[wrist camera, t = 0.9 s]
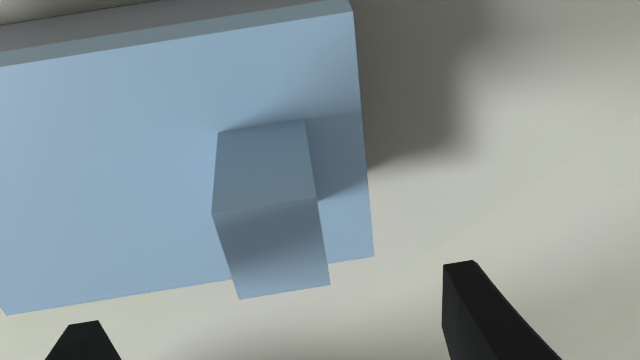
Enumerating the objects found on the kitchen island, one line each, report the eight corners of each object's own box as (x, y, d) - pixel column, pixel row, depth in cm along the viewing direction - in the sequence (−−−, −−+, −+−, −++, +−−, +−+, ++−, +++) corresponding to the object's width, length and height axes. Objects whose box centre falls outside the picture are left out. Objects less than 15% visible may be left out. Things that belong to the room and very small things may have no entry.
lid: (369, 235, 20) (395, 340, 16) (16, 293, 19) (-35, 409, 16) (347, -3, 14) (379, 74, 11) (-138, 73, 14) (-264, 176, 11)
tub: (347, 179, 22) (359, 231, 19) (46, 227, 22) (21, 285, 19) (324, -26, 17) (336, 10, 14) (-67, 36, 17) (-119, 81, 14)
